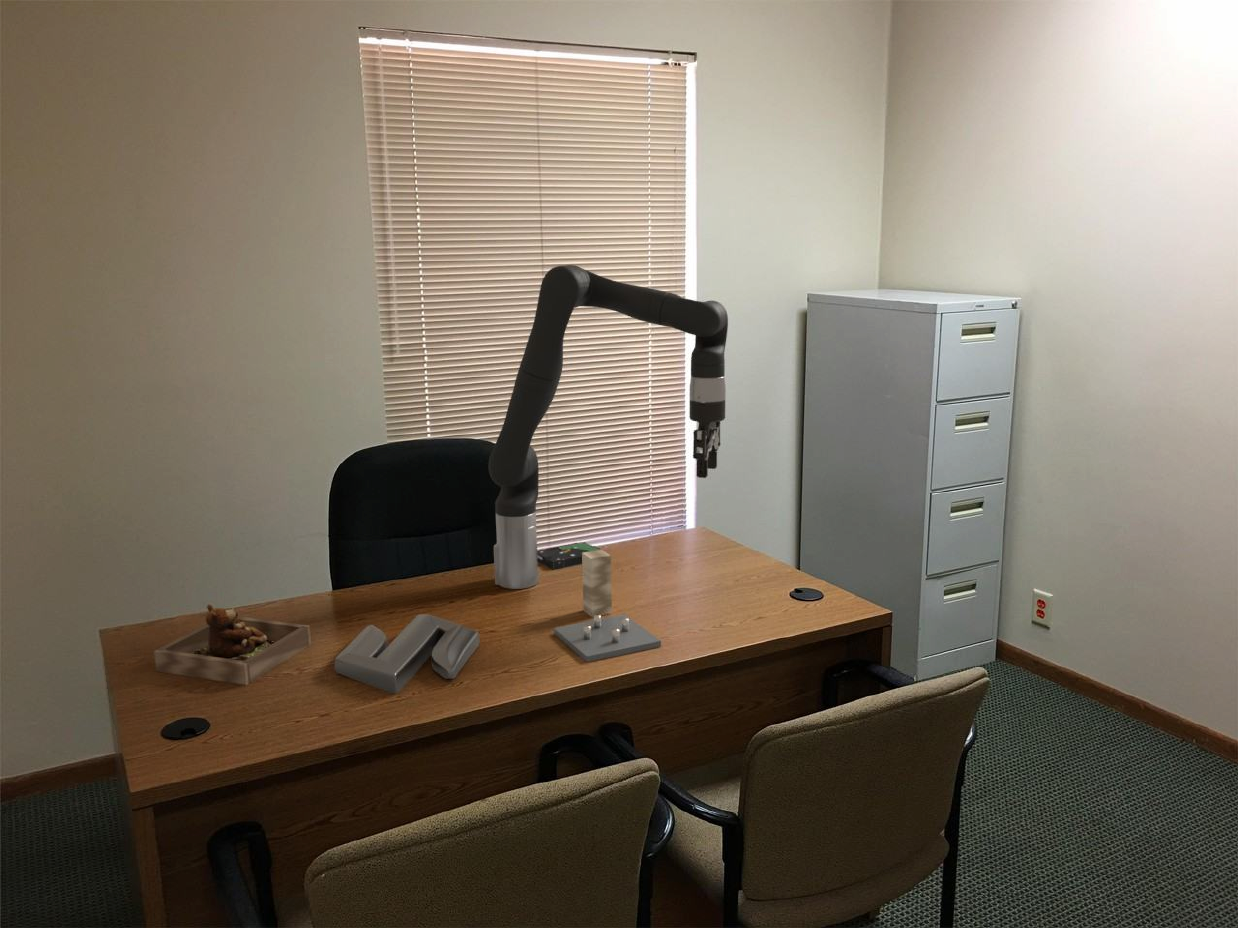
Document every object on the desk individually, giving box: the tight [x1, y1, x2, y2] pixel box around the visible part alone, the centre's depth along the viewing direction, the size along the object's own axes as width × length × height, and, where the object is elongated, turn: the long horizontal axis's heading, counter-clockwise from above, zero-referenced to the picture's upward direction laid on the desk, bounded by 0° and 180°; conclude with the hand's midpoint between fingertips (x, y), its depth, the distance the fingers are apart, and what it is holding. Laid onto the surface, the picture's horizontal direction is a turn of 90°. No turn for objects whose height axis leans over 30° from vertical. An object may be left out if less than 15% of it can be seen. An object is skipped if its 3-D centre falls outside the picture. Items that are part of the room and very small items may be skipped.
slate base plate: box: [553, 614, 662, 663], centre depth 199 cm, size 16×16×4 cm
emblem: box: [334, 613, 480, 695], centre depth 190 cm, size 28×5×28 cm
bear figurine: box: [194, 604, 271, 661], centre depth 191 cm, size 14×15×12 cm
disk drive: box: [537, 541, 605, 571], centre depth 249 cm, size 10×3×15 cm
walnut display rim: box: [153, 616, 312, 686], centre depth 193 cm, size 20×19×4 cm
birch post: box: [581, 549, 613, 618], centre depth 213 cm, size 5×5×13 cm
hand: (706, 472), depth 212 cm, fingers open, 8 cm apart
